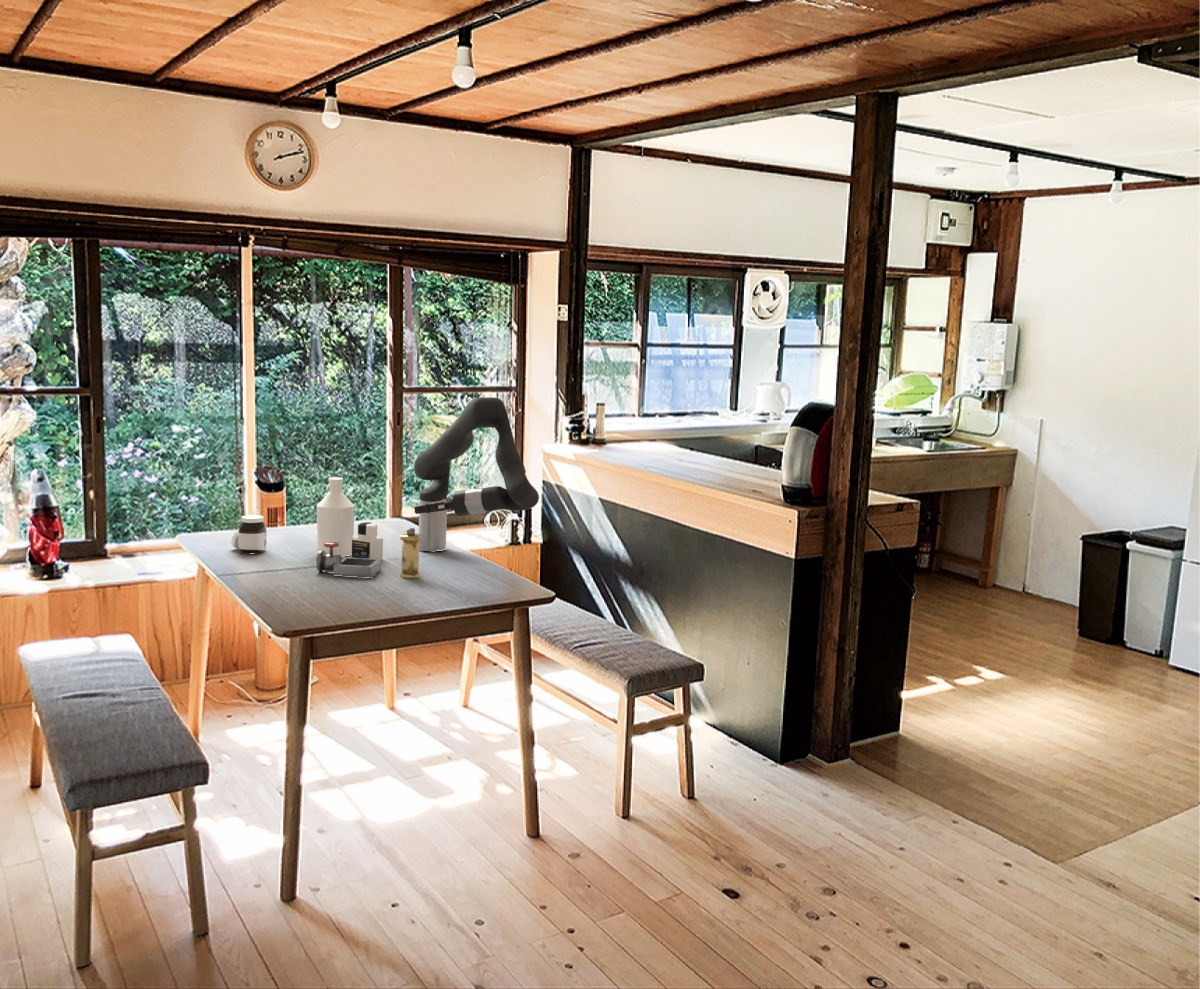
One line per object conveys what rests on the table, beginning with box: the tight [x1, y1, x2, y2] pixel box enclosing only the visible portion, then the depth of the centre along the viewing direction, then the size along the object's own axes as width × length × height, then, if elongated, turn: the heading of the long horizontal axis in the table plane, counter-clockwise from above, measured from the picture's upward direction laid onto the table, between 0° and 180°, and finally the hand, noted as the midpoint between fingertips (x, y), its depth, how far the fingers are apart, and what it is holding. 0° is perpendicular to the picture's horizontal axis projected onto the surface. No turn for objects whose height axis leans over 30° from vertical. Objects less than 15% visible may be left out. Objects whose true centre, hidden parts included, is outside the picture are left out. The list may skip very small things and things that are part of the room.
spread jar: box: [230, 514, 268, 554], centre depth 345 cm, size 12×11×12 cm
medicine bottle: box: [351, 521, 384, 560], centre depth 340 cm, size 7×7×12 cm
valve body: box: [399, 527, 421, 579], centre depth 320 cm, size 6×6×15 cm
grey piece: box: [316, 542, 382, 578], centre depth 322 cm, size 11×17×9 cm, turn 87°
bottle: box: [316, 476, 355, 556], centre depth 346 cm, size 12×12×25 cm
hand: (421, 509), depth 317 cm, fingers open, 8 cm apart
